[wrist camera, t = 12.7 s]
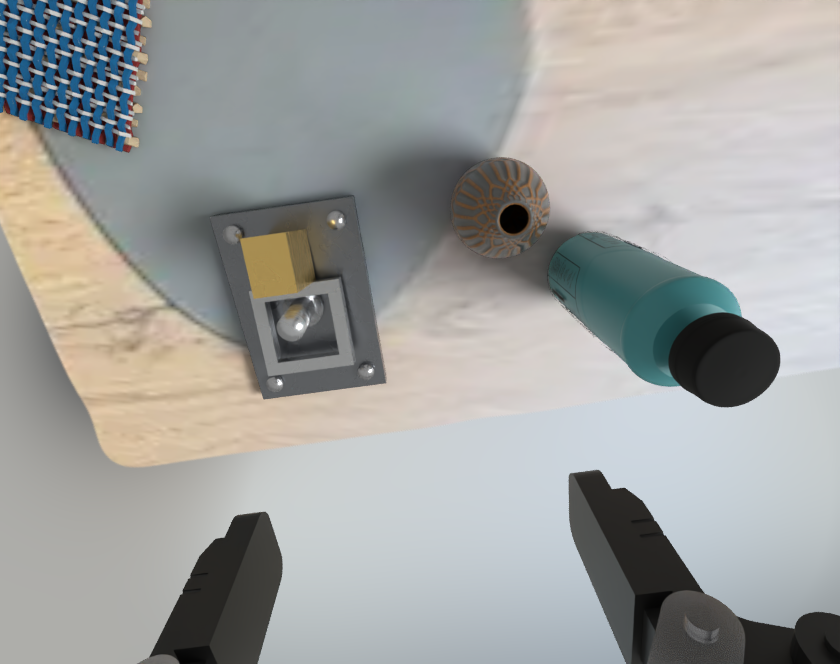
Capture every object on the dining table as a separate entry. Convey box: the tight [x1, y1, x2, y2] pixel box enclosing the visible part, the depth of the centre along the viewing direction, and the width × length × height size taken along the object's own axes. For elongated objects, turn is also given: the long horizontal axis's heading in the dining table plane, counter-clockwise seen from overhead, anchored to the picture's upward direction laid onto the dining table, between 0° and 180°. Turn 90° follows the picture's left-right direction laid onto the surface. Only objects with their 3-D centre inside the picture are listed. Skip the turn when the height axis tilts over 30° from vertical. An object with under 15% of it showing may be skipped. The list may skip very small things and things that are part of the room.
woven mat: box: [0, 0, 151, 153], centre depth 32 cm, size 10×11×2 cm
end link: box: [240, 229, 356, 376], centre depth 35 cm, size 11×7×6 cm, turn 8°
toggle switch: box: [210, 196, 386, 399], centre depth 37 cm, size 16×11×6 cm
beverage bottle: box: [548, 231, 780, 407], centre depth 30 cm, size 6×7×20 cm
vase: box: [450, 157, 550, 258], centre depth 33 cm, size 7×7×9 cm
